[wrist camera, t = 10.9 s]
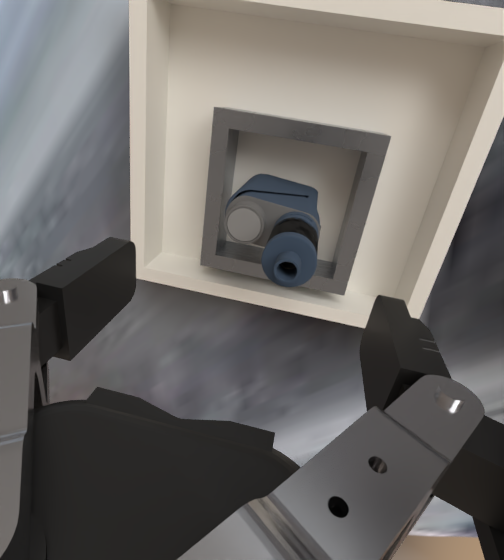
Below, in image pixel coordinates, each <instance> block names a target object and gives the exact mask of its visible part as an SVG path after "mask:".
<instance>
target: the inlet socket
mask: <svg viewBox="0 0 504 560" xmlns="http://www.w3.org/2000/svg"><path fill="white" fill-rule="evenodd" d="M239 130H240V131H246V132H252V133H258V134H264V135H270V136H275V137H281V138H287V139H293V140H299V141H305V142H310V143H316V144H322V145H328V146H334V147H340V148H346V149H351V150H357V151H361V155H360V159H359V163H358V166H357V170H356V174H355V178H354V182H353V185H352V189H351V193H350V197H349V200H348V204H347V208H346V212H345V215H344V219H343V223H342V227H341V230H340V234H339V238H338V242H337V245H336V249H335V253H334V257H333V260H332V262H329V261H324V260H319V259H317V267H316V271H315V273H314V275H313V276H312V277H311V279H310V280H309V281H307V282H306V283H304V284H302V285H300V286H301V287H306V288H310V289H315V290H320V291H325V292H329V293H334V294H339V295H345V291H346V288H347V285H348V281H349V278H350V274H351V271H352V268H353V264H354V261H355V258H356V254H357V251H358V247H359V244H360V241H361V237H362V234H363V231H364V227H365V224H366V220H367V217H368V214H369V210H370V207H371V204H372V200H373V197H374V193H375V190H376V187H377V183H378V180H379V177H380V173H381V170H382V166H383V163H384V160H385V156H386V153H387V150H388V146H389V143H390V139H391V136H390V135H387V134H385V133H380V132H374V131H368V130H362V129H356V128H350V127H344V126H338V125H332V124H326V123H320V122H314V121H308V120H302V119H295V118H289V117H283V116H277V115H271V114H265V113H259V112H253V111H247V110H241V109H235V108H229V107H214V111H213V123H212V134H211V146H210V157H209V169H208V180H207V192H206V203H205V214H204V226H203V237H202V249H201V260H200V265H201V266H206V267H211V268H216V269H220V270H225V271H230V272H235V273H239V274H244V275H249V276H254V277H258V278H263V279H268V280H270V279H269V278H268V277H267V276H266V274H265V273H264V271H263V268H262V264H261V258H262V253H263V250H264V248H260V247H255V246H250V245H245V244H240V243H236V242H231V241H226V237H227V232H226V230H225V225H224V222H225V208H226V205H227V202H228V200H229V199H230V198H231V195H232V187H233V178H234V170H235V162H236V153H237V145H238V136H239Z"/></svg>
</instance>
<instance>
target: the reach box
mask: <svg viewBox="0 0 504 560" xmlns="http://www.w3.org/2000/svg"><path fill="white" fill-rule="evenodd" d="M129 70H130V214H131V241H132V242H133V243H134V244H135V247H136V278H137V279H142V280H146V281H151V282H155V283H160V284H164V285H169V286H174V287H178V288H183V289H187V290H192V291H196V292H201V293H206V294H210V295H215V296H219V297H224V298H229V299H233V300H238V301H242V302H247V303H251V304H256V305H261V306H265V307H270V308H274V309H279V310H283V311H288V312H293V313H297V314H302V315H306V316H311V317H315V318H320V319H325V320H329V321H334V322H338V323H343V324H347V325H352V326H357V327H361V328H365V327H366V324H367V322H368V319H369V316H370V313H371V310H372V307H373V304H374V302H375V299H376V297H377V296H378V295H383V296H388V297H393V298H397V299H402V300H404V301H405V304H406V306H407V309H408V311H409V314H410V316H411V317H412V318H417V319H419V318H420V316H421V313H422V311H423V309H424V306H425V304H426V301H427V299H428V297H429V294H430V292H431V289H432V287H433V285H434V282H435V280H436V277H437V275H438V273H439V270H440V268H441V265H442V263H443V261H444V258H445V256H446V253H447V251H448V249H449V246H450V244H451V241H452V239H453V237H454V234H455V232H456V229H457V227H458V225H459V222H460V220H461V217H462V215H463V213H464V210H465V208H466V205H467V203H468V201H469V198H470V196H471V193H472V191H473V189H474V186H475V184H476V181H477V179H478V177H479V174H480V172H481V169H482V167H483V165H484V162H485V160H486V157H487V155H488V153H489V150H490V148H491V145H492V143H493V141H494V138H495V136H496V133H497V131H498V129H499V126H500V124H501V121H502V119H503V117H504V8H496V7H488V6H481V5H473V4H465V3H457V2H449V1H442V0H129ZM214 107H229V108H235V109H241V110H247V111H253V112H259V113H265V114H271V115H277V116H283V117H289V118H295V119H302V120H308V121H314V122H320V123H326V124H332V125H338V126H344V127H350V128H356V129H362V130H368V131H374V132H380V133H385V134H387V135H390V136H391V139H390V143H389V146H388V150H387V153H386V156H385V160H384V163H383V166H382V170H381V173H380V177H379V180H378V183H377V187H376V190H375V193H374V197H373V200H372V204H371V207H370V210H369V214H368V217H367V220H366V224H365V227H364V231H363V234H362V237H361V241H360V244H359V247H358V251H357V254H356V258H355V261H354V264H353V268H352V271H351V274H350V278H349V281H348V285H347V288H346V291H345V295H339V294H334V293H329V292H325V291H320V290H315V289H310V288H306V287H301V286H297V287H283V286H280V285H277V284H275V283H274V282H272V281H271V280H268V279H263V278H258V277H254V276H249V275H244V274H239V273H235V272H230V271H225V270H220V269H216V268H211V267H206V266H201V265H200V260H201V249H202V237H203V226H204V214H205V203H206V192H207V180H208V169H209V157H210V146H211V134H212V123H213V111H214ZM360 155H361V151H357V150H351V149H346V148H340V147H334V146H328V145H322V144H316V143H310V142H305V141H299V140H293V139H287V138H281V137H275V136H270V135H264V134H258V133H252V132H246V131H240V130H239V136H238V145H237V153H236V162H235V170H234V178H233V187H232V195H233V194H234V193H235V192H236V191H237V190H239V189H240V188H241V187H242V186H243V185H244V184H245V183H246V182H247V181H248V180H249V179H250V178H252V177H253V176H254V175H257V174H269V175H272V176H276V177H279V178H283V179H286V180H290V181H293V182H297V183H300V184H304V185H307V186H311V187H313V188H315V189H316V190H317V191H318V201H317V211H318V214H319V218H320V225H321V230H320V237H319V241H318V253H317V259H319V260H324V261H329V262H332V260H333V257H334V253H335V249H336V245H337V242H338V238H339V234H340V230H341V227H342V223H343V219H344V215H345V212H346V208H347V204H348V200H349V197H350V193H351V189H352V185H353V182H354V178H355V174H356V170H357V166H358V163H359V159H360ZM232 195H231V196H232ZM226 241H231V242H235V241H234V240H232V239H231V238H230V237H229V236H228V234H227V237H226ZM236 243H237V242H236ZM245 245H250V246H255V247H260V248H265V247H262V246H259V245H255V244H252V243H250V244H245Z"/></svg>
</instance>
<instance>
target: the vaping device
mask: <svg viewBox="0 0 504 560" xmlns="http://www.w3.org/2000/svg"><path fill="white" fill-rule="evenodd" d="M317 201H318V191H317V190H316V189H315V188H313V187H311V186H307V185H304V184H300V183H297V182H293V181H290V180H286V179H283V178H279V177H276V176H272V175H269V174H257V175H254V176H253V177H252V178H250V179H249V180H248V181H247V182H246V183H245V184H244V185H243V186H242V187H241V188H240V189H239V190H237V191H236V192H235V193H234V194H233V195H232V196H231V198H230V199H229V200H228V202H227V205H226V208H225V222H224V225H225V230H226V232H227V234H228V236H229V237H230V238H231V239H232V240H234V241H235V242H237V243H240V244H250V243H252V244H255V245H259V246H262V247H265V248H264V250H263V253H262V258H261V264H262V268H263V271H264V273H265V274H266V276H267V277H268V278H269V279H270V280H271V281H272V282H274V283H275V284H277V285H280V286H283V287H297V286H300V285H302V284H304V283H306V282H307V281H309V280H310V279H311V277H312V276H313V275H314V273H315V271H316V267H317V253H318V241H319V237H320V230H321V225H320V218H319V214H318V211H317Z"/></svg>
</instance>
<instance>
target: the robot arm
mask: <svg viewBox="0 0 504 560" xmlns="http://www.w3.org/2000/svg"><path fill="white" fill-rule="evenodd" d="M135 288H136V247H135V244H134V243H133V242H132V241H127V240H122V239H118V238H113V237H109V238H107V239H106V240H104V241H102V242H101V243H99V244H98V245H96V246H94V247H93V248H89V249H86V250H82V251H79V252H76V253H74V254H73V255H71V256H69V257H68V258H66V260H63V261H61V262H59V263H58V264H57V265H56V266H55V265H54V266H53V267H51V268H49V269H47V270H46V271H44V272H42V273H41V274H39V275H37V276H36V277H34V278H32V279H31V280H29V281H28V280H24V279H1V280H0V560H391V559H392V557H393V556H394V554H395V553H396V551H397V550H398V548H399V547H400V545H401V544H402V543H403V541H404V540H405V538H406V537H407V535H408V534H409V532H410V531H411V529H412V528H413V527H414V525H415V524H416V522H417V521H418V519H419V518H420V516H421V515H422V513H423V512H424V511H425V509H426V508H427V506H428V505H429V503H430V502H431V500H432V499H433V497H434V496H436V497H438V498H440V499H442V500H444V501H446V502H447V503H449V504H451V505H453V506H455V507H456V508H458V509H460V510H462V511H464V512H465V513H467V514H469V515H471V516H472V517H473V521H474V524H475V527H476V531H477V534H478V538H479V541H480V544H481V548H482V551H483V554H484V558H485V560H504V424H502V423H499V422H497V421H495V420H493V419H491V418H489V417H487V416H485V415H484V407H483V405H482V403H481V401H480V400H479V399H478V397H477V396H476V395H475V394H474V393H473V392H472V391H470V390H469V389H468V388H466V387H465V386H463V385H462V384H460V383H458V382H456V381H454V380H452V378H451V376H450V374H449V372H448V370H447V367H446V365H445V363H444V361H443V358H442V356H441V354H440V353H439V350H438V347H437V345H436V343H434V342H435V341H434V338H433V336H432V334H431V332H430V330H429V329H428V328H427V327H426V326H425V325H424V324H423V323H422V322H421V321H420V320H419V319H417V318H412V317H411V316H410V314H409V311H408V309H407V306H406V304H405V301H404V300H402V299H397V298H393V297H388V296H383V295H378V296H377V297H376V299H375V302H374V304H373V307H372V310H371V313H370V316H369V319H368V322H367V324H366V327H365V330H364V333H363V336H362V340H361V345H360V360H361V368H362V376H363V384H364V391H365V399H366V407H367V412H366V413H365V414H364V415H362V416H361V417H360V418H359V419H358V420H357V421H355V422H354V423H353V424H352V425H351V426H349V427H348V428H347V429H346V430H345V431H344V432H342V433H341V434H340V435H339V436H338V437H336V438H335V439H334V440H333V441H332V442H331V443H329V444H328V445H327V446H326V447H325V448H323V449H322V450H321V451H320V452H319V453H318V454H316V455H315V456H314V457H313V458H312V459H310V460H309V461H308V462H307V463H306V464H305V465H303V466H302V467H300V466H298V465H297V464H296V463H295V462H294V461H292V460H291V459H290V458H288V457H287V456H285V455H284V454H282V453H281V452H279V451H277V450H276V449H274V448H273V442H274V435H275V433H274V432H270V431H266V430H262V429H258V428H255V427H251V426H247V425H243V424H239V423H235V422H231V421H216V420H192V419H180V418H177V417H175V416H173V415H171V414H169V413H167V412H165V411H163V410H161V409H159V408H158V407H156V406H154V405H152V404H150V403H148V402H146V401H144V400H143V399H141V398H138V397H135V396H131V395H127V394H123V393H119V392H115V391H111V390H107V389H104V388H100V387H97V388H96V389H95V390H94V392H93V393H92V394H91V395H90V396H89V398H88V399H87V400H70V401H63V402H57V403H53V404H50V396H49V367H48V360H49V359H50V358H51V357H57V358H61V359H65V360H69V361H71V360H72V359H73V358H74V357H75V356H76V355H77V354H78V353H79V352H80V351H81V350H82V349H83V348H84V347H85V346H86V345H87V344H88V343H89V342H90V341H91V340H92V339H93V338H94V337H95V336H96V335H97V334H98V333H99V332H100V331H101V330H102V329H103V328H104V327H105V326H106V325H107V324H108V323H109V322H110V321H111V320H112V319H113V318H114V317H115V316H116V315H117V314H118V313H119V312H120V311H121V310H122V309H123V308H124V307H125V306H126V305H127V304H128V303H129V302H130V301H131V299H132V297H133V295H134V292H135Z"/></svg>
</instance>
